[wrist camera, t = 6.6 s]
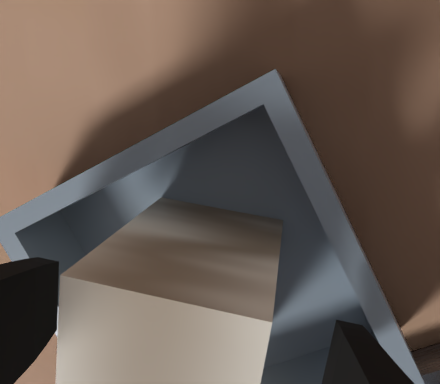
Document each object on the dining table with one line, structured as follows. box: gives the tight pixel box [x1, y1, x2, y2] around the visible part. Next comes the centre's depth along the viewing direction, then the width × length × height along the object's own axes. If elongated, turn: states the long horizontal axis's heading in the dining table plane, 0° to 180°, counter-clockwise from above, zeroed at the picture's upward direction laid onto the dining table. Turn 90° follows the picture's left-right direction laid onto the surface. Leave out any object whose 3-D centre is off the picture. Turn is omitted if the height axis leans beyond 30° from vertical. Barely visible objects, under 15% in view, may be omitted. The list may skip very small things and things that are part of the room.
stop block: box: [56, 197, 283, 384], centre depth 11 cm, size 4×4×6 cm
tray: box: [0, 69, 425, 384], centre depth 13 cm, size 9×9×3 cm
